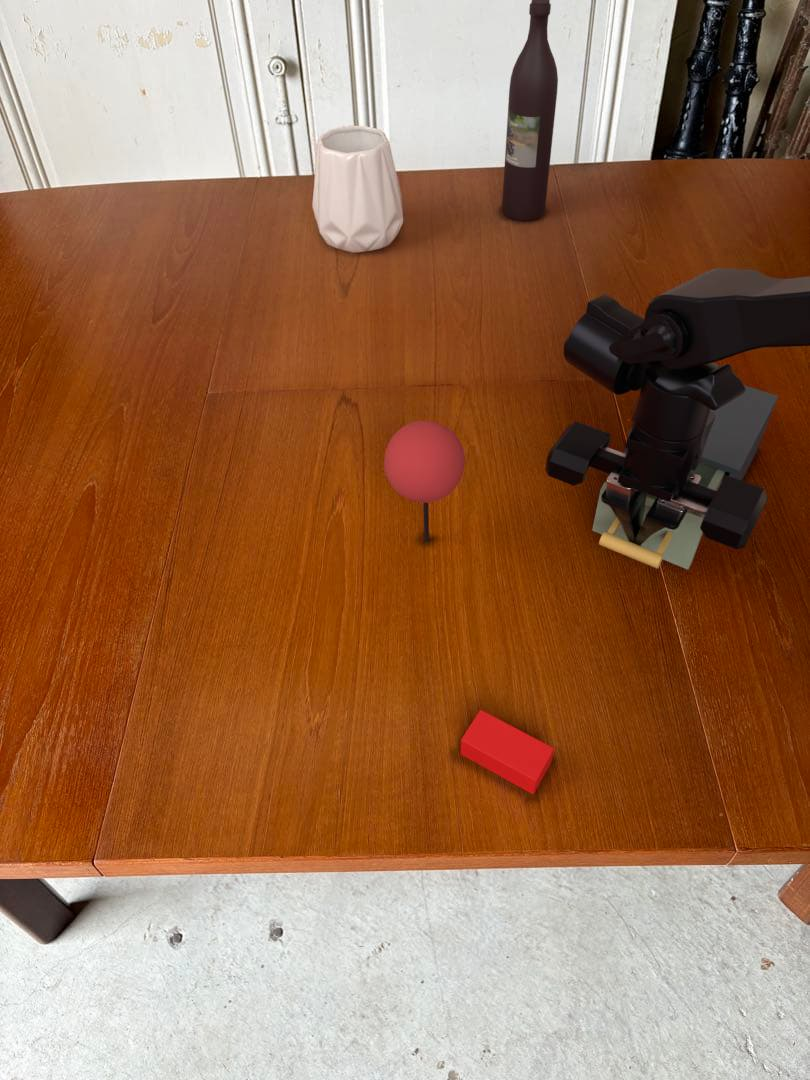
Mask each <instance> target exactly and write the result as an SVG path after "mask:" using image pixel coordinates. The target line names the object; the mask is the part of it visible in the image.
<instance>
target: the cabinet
mask: <svg viewBox="0 0 810 1080" xmlns="http://www.w3.org/2000/svg"><path fill="white" fill-rule="evenodd" d="M743 385H744V386H745V389H746V390H745V393H744V394H742V395H740V396H739V397H737V398H735V399H734V400H732V401H730V402H729V403H727V404H725V405H724V406H722V407H720V408H719V409H717V410H710V411H711V412H713V413H714V414H715V415H716V417H715V420H714V422H713V425H712V428H711V430H710V433H709V435H708V438H707V441H706V445H705V447H704V450H703V453H702V456H701V459H700V463H703V464H706V465H709V466H711V467H714V468H717V469H720V470H723V471H726V472H728V475H727V476H730V477H732V478H735V479H738V480H741V481H743V480H744V477H745V475H746V474H747V471H748V470H749V467H750V466H751V463H752V462H753V459H754V458H755V456H756V454H757V452H758V449H759V447H760V444H761V442H762V440H763V436H764V434H765V432H766V429H767V427H768V425H769V421H770V419H771V417H772V414H773V412H774V409H775V407H776V404H777V401H778V399H779V395H776V394H773V393H771V392H768V391H765V390H764V391H763V390H761V389H758V388H754V387H751V386H747V385H745V384H743ZM631 430H632V427H631V428H630V429H629V432H628V435H627V438H628V437H629V435H630V434H631ZM626 452H627V448H625V447H624V452H623V453H625V454H626Z"/></svg>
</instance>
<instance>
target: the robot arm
mask: <svg viewBox="0 0 810 1080" xmlns="http://www.w3.org/2000/svg"><path fill="white" fill-rule="evenodd" d="M780 347H781V348H786V347H810V276H801V277H793V278H792V277H791V278H779V277H778V278H777V277H770V276H767V275H765V274H764V273H762V272H759V271H757V270H754V269H753V270H752V269H742V268H727V267H715V268H712V269H709V270H706V271H705V272H702V273H701V274H699V275H696V276H695V277H693V278H691V279H689V280H686V281H684V282H683V283H681V284H678V285H676V286H675V287H673V288H671V289H668V290H667V291H665V292H662V293H661V294H658V295H657V296H654V297H653V298H652V299H651V300H649V301H648V306H647V308H646V310H645V313H644V318H643V317H641V316H640V315H638V314H636V313H635V312H633V311H632V310H630V309H628V308H626V307H625V306H623V305H622V304H620V302H618V301H617V300H616V299H615V298H613V297H611V296H609V295H608V294H606V293H604V294H602V295H600V296H598V297H596V298H594V299H592V300H590V301H588V302H587V304H586V310H585V313H584V314H583V315H582V316H580V318H579V319H578V320H577V322H576V323H575V325H574V326H573V328H572V329H571V331H570V333H569V335H568V337H567V339H566V340H565V341H564V345H563V357H564V359H565V362H567V363H568V364H569V365H571V366H572V367H574V368H575V369H576V370H578V371H580V372H581V373H583V374H584V375H586V376H587V377H589V378H590V379H592V380H593V381H595V382H596V383H598V384H599V385H600V386H602V387H604V388H605V389H606V390H608V391H609V392H611V393H612V394H614V395H617V396H619V395H620V396H622V395H625V394H627V393H629V392H631V391H634V392H635V391H638V390H640V392H639V396H638V400H637V401H636V404H635V407H634V410H633V413H632V416H631V420H632V422H633V423H632V425H631V428H632V430H631V429H630V430H631V434H630V435H629V434H628V435H629V437H628V436H627V439H626V442H625V447H624V449H625V448H627V452H626V454H625V453H624V452H622V451H619V450H616V449H613V448H611V447H609V445H610V443H611V438H612V434H611V433H610V432H607V431H604V430H601V429H598V428H595V427H592V426H590V425H587V424H584V423H582V422H578V421H574V422H572V423H570V424H568V425H567V427H566V428H565V429H564V431H562V433H561V435H559V437H558V438H557V440H556V441H555V442H554V444H553V445H552V446H551V448H550V450H549V451H548V454H547V456H546V463H545V472H546V475H547V476H548V477H550V478H553V479H555V480H557V481H560V482H563V483H566V484H567V485H571V486H572V487H573V486H576V485H580V484H582V483H583V482H584V481H585V480H586V475H587V471H588V470H589V468H592V469H595V470H598V471H600V472H603V473H606V474H608V476H607V477H606V483H607V487H606V489H605V491H604V492H603V494H602V497H601V500H602V502H603V503H605V504H607V505H609V506H610V507H611V509H612V510H613V512H614V513H615V515H616V517H617V518H618V520H619V521H620V523H621V525H622V527H623V529H624V532H625V534H626V536H627V538H628V540H629V542H632V543H634V544H637V545H639V546H640V545H641V544H642V543H644V542H645V541H646V540H647V539H648V538H649V537H650V536H651V535H652V534H654V533H656V532H658V531H660V530H661V529H663V528H668V529H671V530H675V529H677V528H678V527H679V525H680V524H681V522H682V520H683V518H684V516H685V515H686V513H687V511H688V509H690V510H693V511H696V512H698V513H701V514H704V515H705V516H704V518H703V521H702V524H701V526H700V529H701V530H702V532H703V535H704V536H705V538H706V539H709V540H712V541H714V542H716V543H719V544H721V545H724V546H727V547H729V548H732V549H734V550H740V549H745V548H746V546H747V543H748V541H749V540H750V537H751V535H752V534H753V531H754V529H755V527H756V525H757V523H758V521H759V518H760V517H761V514H762V513H763V511H764V507H765V505H766V503H767V501H768V499H769V497H768V495H767V492H766V489H765V488H763V487H760V486H757V485H754V484H752V483H748V482H746V481H743V480H742V481H741V480H738V479H735V478H732V477H730V476H727V475H725V477H724V479H723V481H722V483H721V485H720V487H719V488H718V490H717V491H715V490H712V489H710V488H707V487H704V486H702V485H699V482H700V480H701V476H700V475H697V474H694V473H692V472H691V470H694V471H695V470H696V468H697V466H698V464H699V463H700V459H701V456H702V453H703V450H704V447H705V445H706V441H707V438H708V435H709V433H710V430H711V428H712V425H713V422H714V420H715V417H716V415H715V414H714V413H713V412H711V411H710V410H717V409H719V408H720V407H722V406H724V405H725V404H727V403H729V402H730V401H732V400H734V399H735V398H737V397H739V396H740V395H742V394H744V393H745V390H746V389H745V386H746V385H745V384H744V383H743V381H742V379H741V378H740V377H739V376H738V375H736V373H735V372H734V370H733V367H732V364H730V363H725V364H723V365H719V364H718V363H716V362H719V361H722V360H726V359H729V358H732V357H734V356H738V355H741V354H743V353H746V352H749V351H753V350H757V349H762V348H780ZM744 385H745V386H744ZM647 494H650V495H652V496H655V497H656V500H655V501H654V503H653V505H652V506H651V508H650V510H649V511H648V513H647V514H646V516H645V518H644V521H643V516H644V510H645V503H646V496H647Z"/></svg>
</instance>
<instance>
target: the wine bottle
mask: <svg viewBox="0 0 810 1080" xmlns="http://www.w3.org/2000/svg"><path fill="white" fill-rule="evenodd" d="M550 1H551V0H531V1H530V2H531V3H530V4H529V8H528V10H529V11H528V14H529V29H528V34H527V38H526V41H525V43H524V45H523V48H522V49H521V51H520V53H519V54H518V57H517V58H516V61H515V63H514V65H513V67H512V70H511V76H510V82H509V89H508V105H507V121H506V135H505V136H506V137H505V153H504V168H503V169H504V170H503V185H502V198H501V199H502V200H501V211H502V213H503V215H504V216H506V217H507V218H509V219H511V220H515V221H522V222H523V221H533V220H536V219H539V218H540V217H542V216H543V215H544V213H545V211H546V204H547V195H548V186H549V176H550V175H549V174H550V165H551V157H552V148H553V147H552V146H553V138H554V137H553V135H554V129H555V128H554V127H555V126H554V125H555V119H556V118H555V117H556V107H557V99H558V98H557V97H558V87H559V76H558V67H557V64H556V61H555V57H554V54H553V52H552V50H551V47H550V43H549V40H548V39H549V37H548V23H549V16H550V14H551V7H552V4H551V2H550Z"/></svg>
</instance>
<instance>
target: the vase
mask: <svg viewBox="0 0 810 1080" xmlns="http://www.w3.org/2000/svg"><path fill="white" fill-rule="evenodd" d="M315 145H316V146H315V160H314V161H315V162H314V181H313V193H312V203H311V204H312V205H311V206H312V211H313V215H314V219H315V221H316V224H317V228H318V233H319V234H320V235H321V238H322V239H323V241H324V242H325V243H326V245H328V246H330V247H332V248H334V249H337V250H341V251H345V252H347V253H352V254H357V253H364V252H370V251H371V252H373V251H375V250H380V249H383V248H386V247H388V246H389V245H390V244H392V242H393V241H394V240H395V239H396V237H397V236H398V235H399V232H400V231H401V229H402V226H403V223H404V209H403V195H402V190H401V185H400V182H399V178H398V174H397V170H396V166H395V161H394V158H393V153H392V148H391V144H390V141H389V139H388V138H387V135H386V133H385V132H384V131H382V130H381V129H380V128H379V129H378V128H376V127H370V126H368V125H348V126H340V127H335V128H332V129H329V130H328V131H326V132H325V133H323V134H322V135H321V136H320V137H319V138H318V139H317V142H316V144H315Z"/></svg>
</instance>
